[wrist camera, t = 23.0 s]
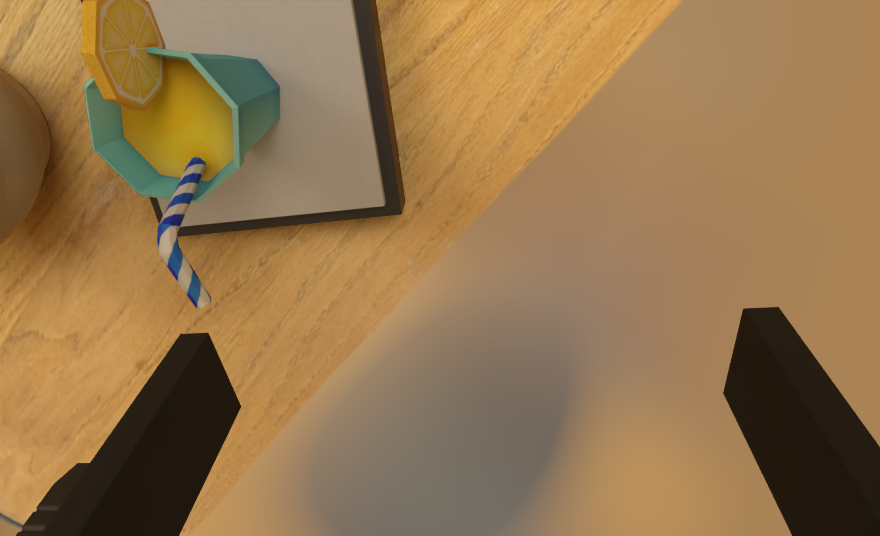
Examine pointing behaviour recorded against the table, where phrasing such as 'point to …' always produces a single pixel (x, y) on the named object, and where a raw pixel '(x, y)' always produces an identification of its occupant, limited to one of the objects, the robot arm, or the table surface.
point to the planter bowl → (20, 153)
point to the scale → (298, 112)
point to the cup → (169, 116)
